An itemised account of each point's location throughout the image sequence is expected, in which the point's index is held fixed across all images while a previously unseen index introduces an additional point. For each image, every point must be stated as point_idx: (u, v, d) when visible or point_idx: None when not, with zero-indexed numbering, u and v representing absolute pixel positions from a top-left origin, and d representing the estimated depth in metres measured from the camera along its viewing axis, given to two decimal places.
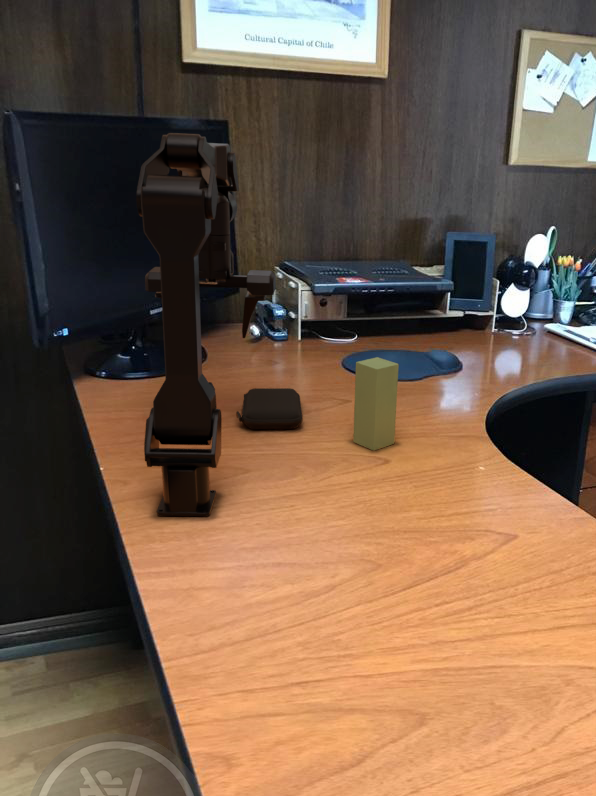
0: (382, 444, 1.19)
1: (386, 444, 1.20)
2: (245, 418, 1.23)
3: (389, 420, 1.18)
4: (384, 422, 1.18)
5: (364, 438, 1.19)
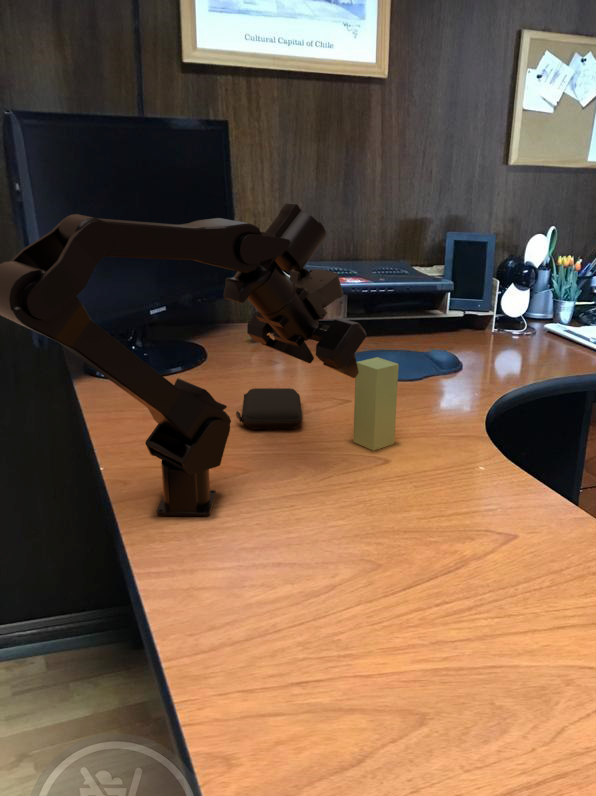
0: (382, 444, 1.19)
1: (386, 444, 1.20)
2: (245, 418, 1.23)
3: (389, 420, 1.18)
4: (384, 422, 1.18)
5: (364, 438, 1.19)
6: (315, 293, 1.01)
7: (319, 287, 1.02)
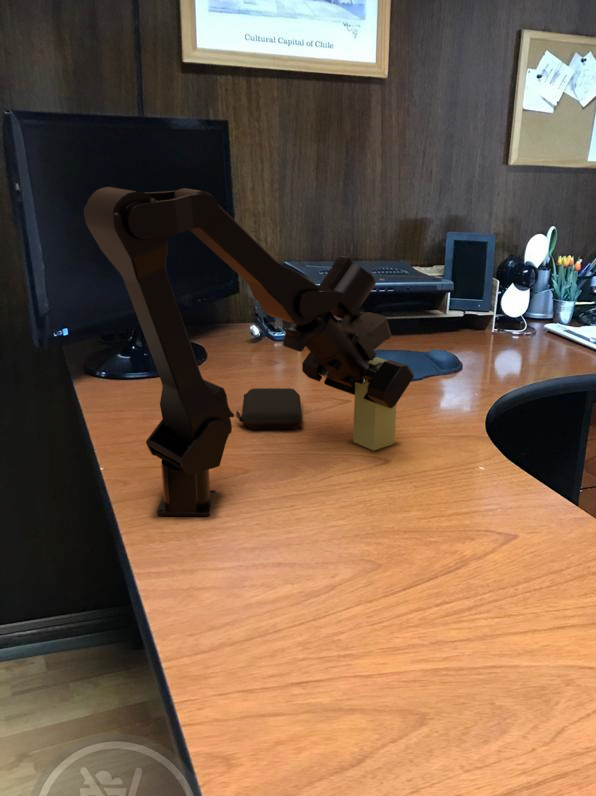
0: (382, 444, 1.19)
1: (386, 444, 1.20)
2: (245, 418, 1.23)
3: (389, 420, 1.18)
4: (384, 422, 1.18)
5: (364, 438, 1.19)
6: (366, 337, 1.10)
7: (369, 331, 1.10)
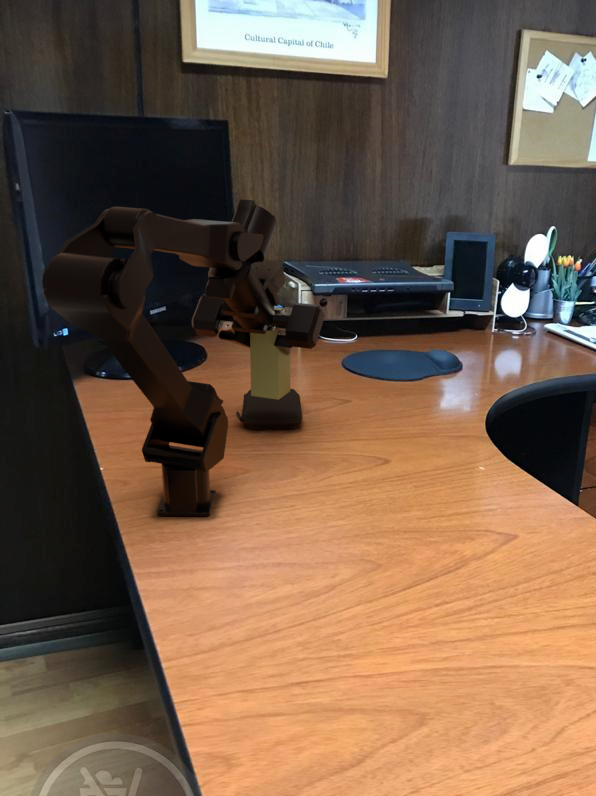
0: (283, 393, 1.19)
1: (285, 392, 1.19)
2: (245, 418, 1.23)
3: (287, 367, 1.18)
4: (284, 369, 1.17)
5: (266, 389, 1.17)
6: (270, 282, 1.08)
7: (272, 276, 1.09)
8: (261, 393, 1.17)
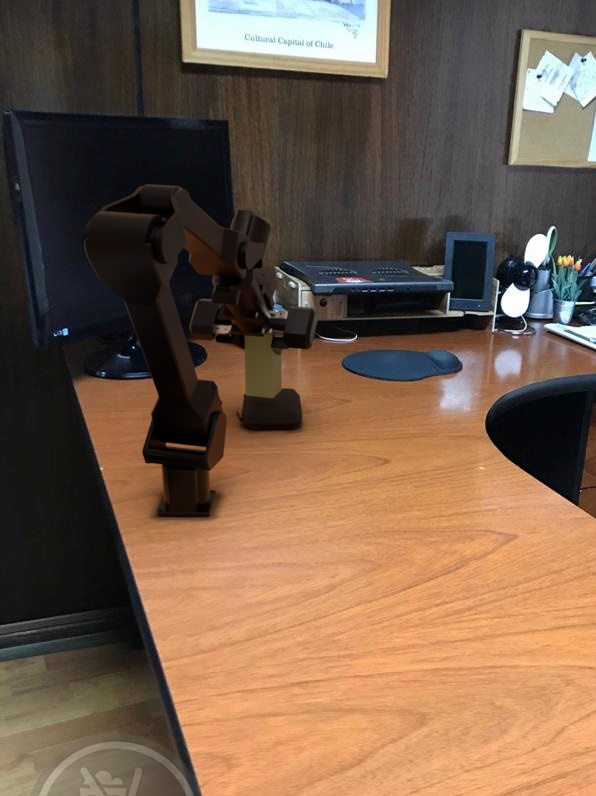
0: (276, 391, 1.25)
1: (278, 390, 1.25)
2: (245, 418, 1.23)
3: (279, 366, 1.24)
4: (276, 369, 1.23)
5: (260, 388, 1.23)
6: (266, 287, 1.14)
7: (267, 281, 1.14)
8: (256, 392, 1.23)
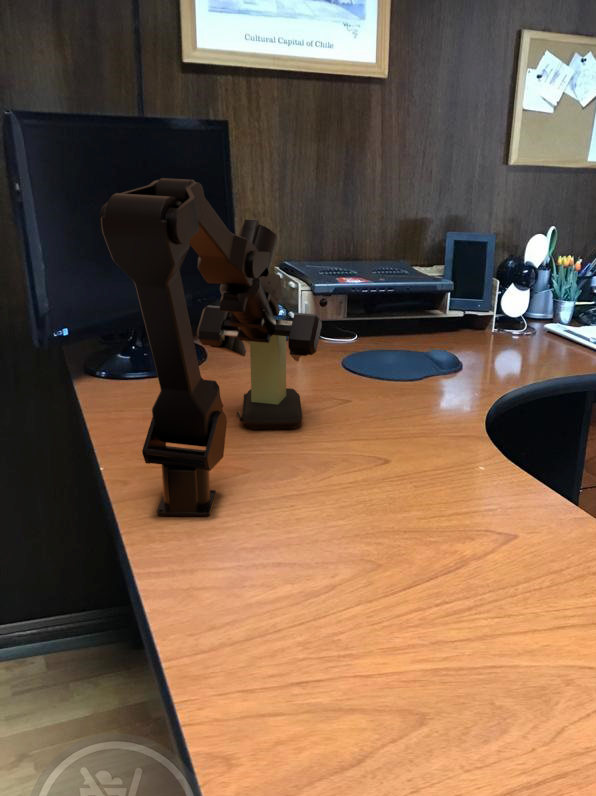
0: (281, 398, 1.28)
1: (283, 397, 1.29)
2: (245, 418, 1.23)
3: (283, 374, 1.27)
4: (281, 376, 1.26)
5: (266, 395, 1.26)
6: (272, 294, 1.17)
7: (273, 289, 1.18)
8: (261, 399, 1.26)
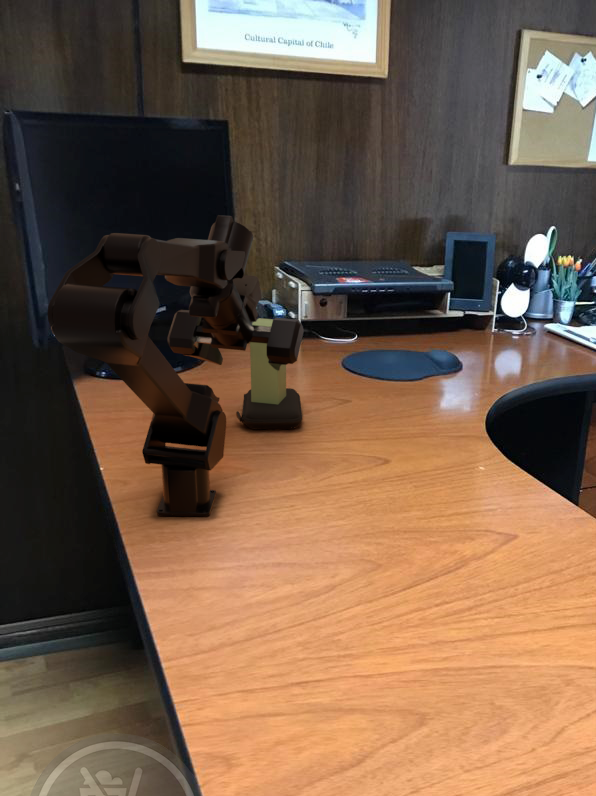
0: (281, 398, 1.28)
1: (283, 397, 1.29)
2: (245, 418, 1.23)
3: (283, 374, 1.27)
4: (281, 376, 1.26)
5: (266, 395, 1.26)
6: (249, 298, 1.08)
7: (250, 292, 1.08)
8: (261, 399, 1.26)
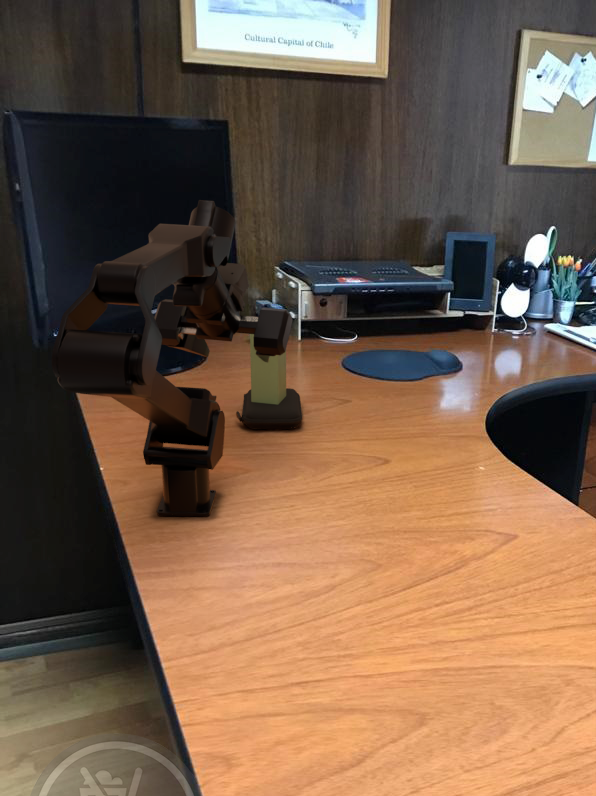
0: (281, 398, 1.28)
1: (283, 397, 1.29)
2: (245, 418, 1.23)
3: (283, 374, 1.27)
4: (281, 376, 1.26)
5: (266, 395, 1.26)
6: (235, 287, 1.04)
7: (236, 280, 1.04)
8: (261, 399, 1.26)
